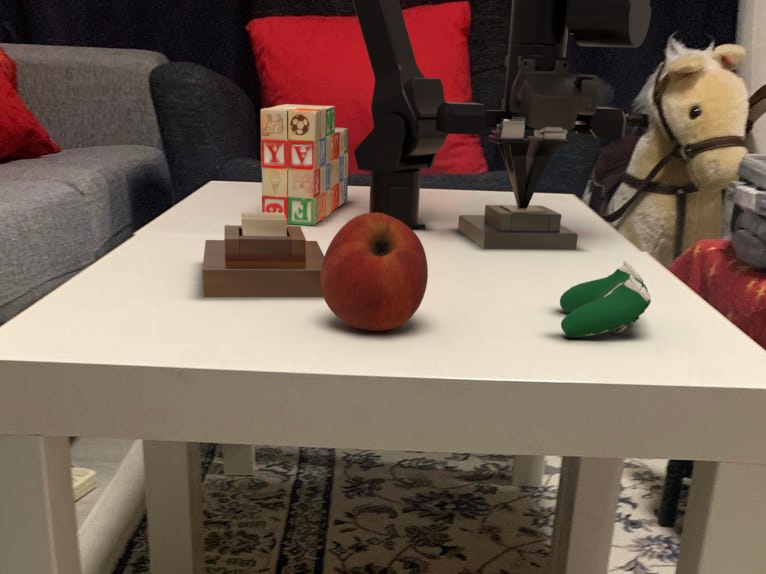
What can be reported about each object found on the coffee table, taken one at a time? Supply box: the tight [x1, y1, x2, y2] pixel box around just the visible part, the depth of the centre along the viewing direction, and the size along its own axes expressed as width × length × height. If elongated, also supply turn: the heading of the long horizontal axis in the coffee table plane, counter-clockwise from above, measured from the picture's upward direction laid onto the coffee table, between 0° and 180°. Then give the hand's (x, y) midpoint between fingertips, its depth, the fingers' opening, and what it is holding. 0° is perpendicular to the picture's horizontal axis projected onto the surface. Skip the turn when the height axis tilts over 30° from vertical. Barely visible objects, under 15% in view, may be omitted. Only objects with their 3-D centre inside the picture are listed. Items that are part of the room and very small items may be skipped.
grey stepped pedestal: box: [457, 204, 579, 251], centre depth 102 cm, size 12×10×4 cm
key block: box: [201, 224, 325, 298], centre depth 79 cm, size 13×10×4 cm
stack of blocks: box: [259, 103, 349, 226], centre depth 114 cm, size 21×6×12 cm, turn 172°
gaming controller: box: [559, 260, 652, 339], centre depth 68 cm, size 9×4×6 cm
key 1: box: [240, 211, 288, 236], centre depth 78 cm, size 4×4×2 cm
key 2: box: [501, 204, 544, 213], centre depth 100 cm, size 4×4×2 cm
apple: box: [320, 212, 429, 332], centre depth 65 cm, size 7×8×8 cm
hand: (522, 207), depth 99 cm, fingers closed, pressing on key 2
